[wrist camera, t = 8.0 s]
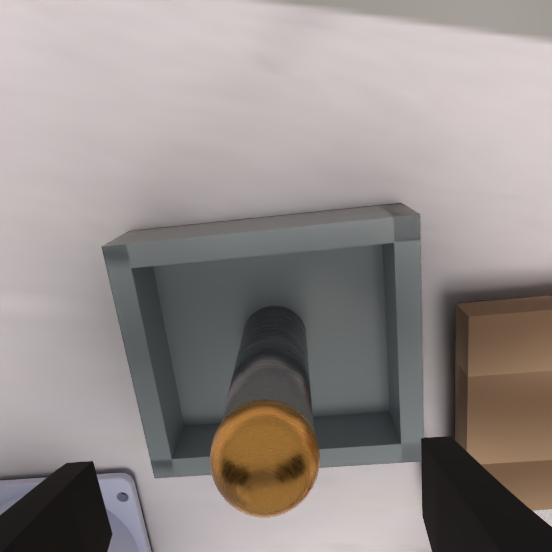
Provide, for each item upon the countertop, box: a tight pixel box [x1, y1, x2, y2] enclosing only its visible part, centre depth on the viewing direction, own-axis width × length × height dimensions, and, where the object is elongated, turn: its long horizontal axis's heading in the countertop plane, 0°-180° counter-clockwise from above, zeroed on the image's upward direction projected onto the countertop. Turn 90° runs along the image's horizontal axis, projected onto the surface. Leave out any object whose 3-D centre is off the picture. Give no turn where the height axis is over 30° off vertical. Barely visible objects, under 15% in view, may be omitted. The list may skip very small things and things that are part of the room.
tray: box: [102, 203, 424, 478], centre depth 16 cm, size 9×10×2 cm
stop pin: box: [210, 306, 320, 517], centre depth 13 cm, size 3×3×8 cm
